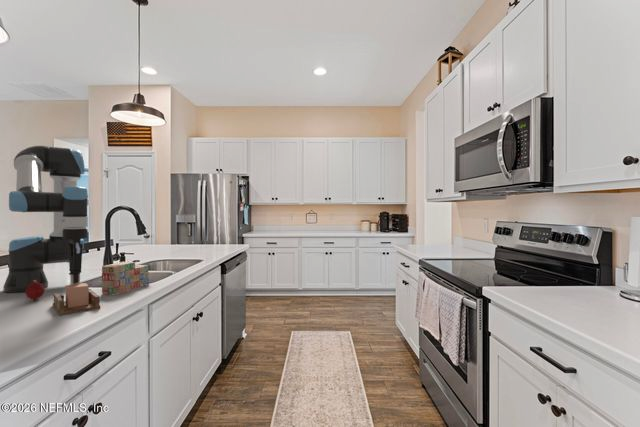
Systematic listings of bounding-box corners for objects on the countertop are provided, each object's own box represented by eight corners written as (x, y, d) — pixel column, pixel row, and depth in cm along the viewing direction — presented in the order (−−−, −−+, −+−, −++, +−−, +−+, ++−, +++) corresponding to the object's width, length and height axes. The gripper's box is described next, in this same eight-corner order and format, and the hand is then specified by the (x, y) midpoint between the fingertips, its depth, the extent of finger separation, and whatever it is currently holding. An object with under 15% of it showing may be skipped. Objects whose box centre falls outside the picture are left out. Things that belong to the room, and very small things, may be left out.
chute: (52, 305, 124) (52, 293, 124) (90, 299, 133) (91, 288, 133) (58, 315, 113) (58, 302, 113) (100, 308, 121) (100, 296, 121)
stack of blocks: (137, 283, 163) (137, 258, 163) (148, 284, 162) (148, 259, 162) (101, 294, 142) (101, 265, 142) (114, 295, 141) (114, 266, 141)
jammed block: (65, 304, 122) (65, 285, 122) (85, 301, 126) (85, 282, 126) (68, 308, 117) (68, 288, 117) (88, 304, 122) (88, 285, 122)
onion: (47, 299, 133) (47, 279, 133) (30, 303, 128) (30, 282, 127) (39, 297, 135) (39, 278, 135) (22, 301, 130) (22, 280, 130)
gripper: (60, 227, 126) (60, 289, 126) (65, 229, 117) (65, 296, 117) (84, 227, 131) (83, 286, 132) (91, 228, 122) (90, 292, 122)
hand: (75, 291), depth 124 cm, fingers closed
